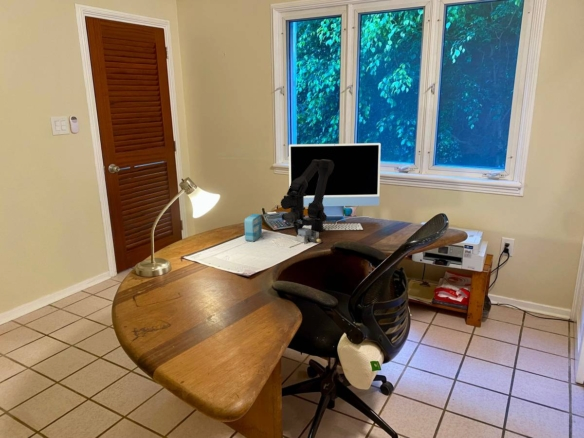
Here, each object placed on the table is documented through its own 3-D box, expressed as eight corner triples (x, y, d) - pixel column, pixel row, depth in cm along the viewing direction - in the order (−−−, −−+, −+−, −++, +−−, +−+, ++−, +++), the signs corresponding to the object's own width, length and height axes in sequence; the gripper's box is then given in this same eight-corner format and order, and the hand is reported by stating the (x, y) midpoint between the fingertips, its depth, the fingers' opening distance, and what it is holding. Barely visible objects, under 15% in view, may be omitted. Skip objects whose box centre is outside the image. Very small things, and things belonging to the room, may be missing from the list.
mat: (281, 237, 226) (281, 236, 226) (301, 243, 217) (301, 242, 217) (269, 241, 220) (269, 241, 220) (289, 247, 211) (289, 247, 211)
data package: (253, 242, 219) (252, 219, 216) (245, 241, 220) (244, 218, 217) (262, 235, 230) (261, 213, 227) (254, 234, 231) (253, 213, 228)
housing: (311, 236, 228) (311, 229, 227) (318, 238, 224) (318, 231, 223) (296, 241, 219) (296, 234, 218) (304, 243, 216) (304, 236, 215)
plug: (303, 237, 226) (303, 227, 225) (322, 242, 218) (322, 232, 216) (298, 239, 223) (298, 229, 222) (316, 244, 215) (317, 234, 213)
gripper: (274, 205, 222) (274, 234, 226) (301, 211, 210) (301, 242, 214) (288, 201, 230) (289, 229, 234) (315, 207, 218) (315, 237, 222)
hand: (297, 234), depth 226 cm, fingers closed
